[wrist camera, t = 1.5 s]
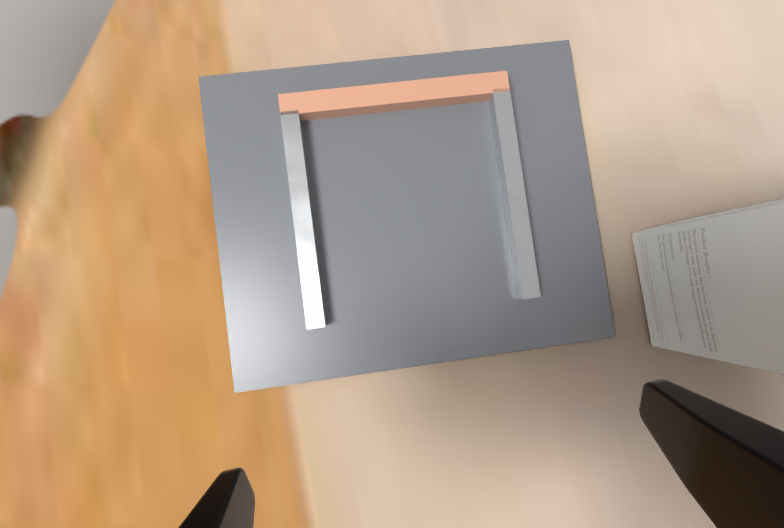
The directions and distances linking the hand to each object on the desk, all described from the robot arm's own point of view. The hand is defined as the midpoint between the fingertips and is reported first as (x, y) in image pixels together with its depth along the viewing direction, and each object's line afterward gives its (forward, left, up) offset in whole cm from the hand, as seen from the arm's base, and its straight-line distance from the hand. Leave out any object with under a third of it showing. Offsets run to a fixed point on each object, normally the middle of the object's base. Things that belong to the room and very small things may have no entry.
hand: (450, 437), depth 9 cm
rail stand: (+3, -7, -14) cm, 16 cm away
